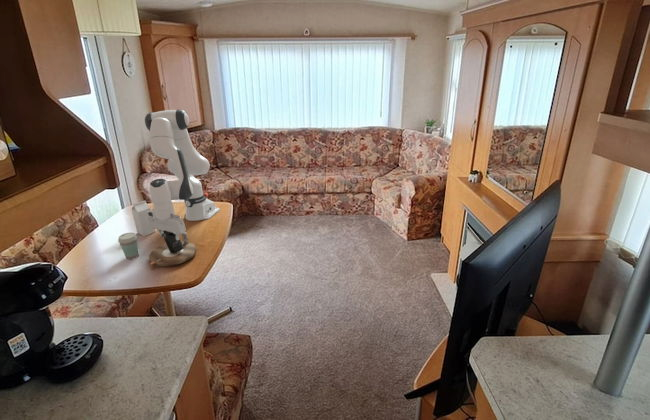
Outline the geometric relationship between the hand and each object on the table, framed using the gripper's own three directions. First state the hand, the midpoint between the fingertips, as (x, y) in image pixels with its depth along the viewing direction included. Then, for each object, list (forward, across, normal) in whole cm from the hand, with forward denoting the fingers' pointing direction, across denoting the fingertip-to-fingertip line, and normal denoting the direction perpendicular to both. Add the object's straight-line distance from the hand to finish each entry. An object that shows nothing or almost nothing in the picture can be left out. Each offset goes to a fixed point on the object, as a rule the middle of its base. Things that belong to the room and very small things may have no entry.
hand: (170, 238), depth 180 cm
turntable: (+9, 0, 0) cm, 9 cm away
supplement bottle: (+7, -3, 0) cm, 7 cm away
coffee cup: (+11, +20, +8) cm, 24 cm away
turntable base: (+11, 0, +2) cm, 11 cm away
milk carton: (+11, +36, -15) cm, 40 cm away
